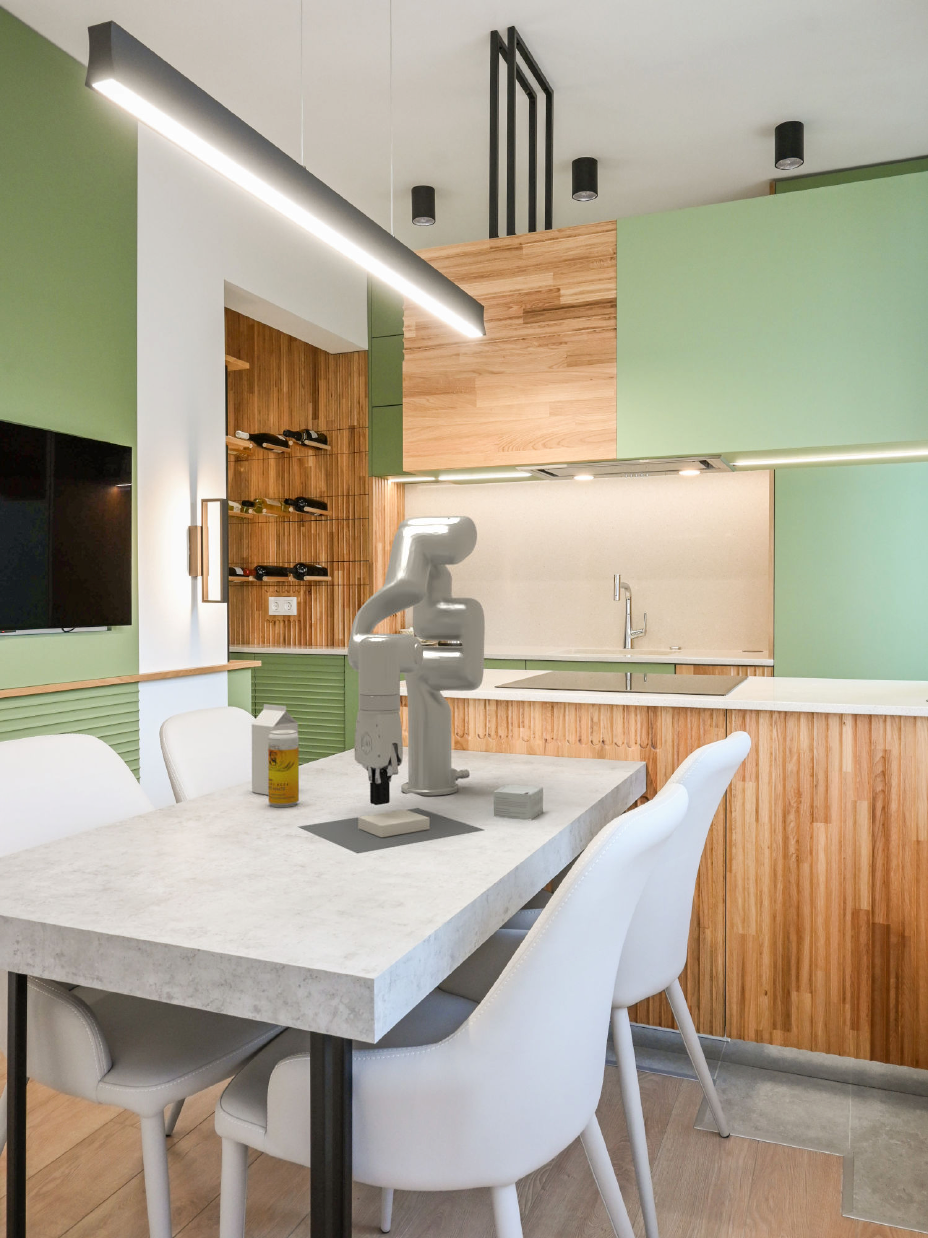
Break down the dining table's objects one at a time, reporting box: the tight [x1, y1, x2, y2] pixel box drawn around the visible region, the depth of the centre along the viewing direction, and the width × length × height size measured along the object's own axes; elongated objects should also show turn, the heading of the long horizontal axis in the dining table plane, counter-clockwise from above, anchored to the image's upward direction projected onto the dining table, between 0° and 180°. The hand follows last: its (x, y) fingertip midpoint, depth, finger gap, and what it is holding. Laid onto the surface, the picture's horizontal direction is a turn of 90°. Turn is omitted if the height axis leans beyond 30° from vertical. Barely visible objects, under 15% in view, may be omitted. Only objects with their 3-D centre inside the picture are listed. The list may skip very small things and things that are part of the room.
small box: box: [493, 784, 544, 820], centre depth 178 cm, size 8×8×5 cm
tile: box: [358, 809, 429, 837], centre depth 163 cm, size 10×2×8 cm
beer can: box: [267, 730, 300, 808], centre depth 186 cm, size 6×6×15 cm
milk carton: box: [251, 703, 299, 795], centre depth 199 cm, size 7×7×19 cm
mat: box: [298, 807, 485, 854], centre depth 164 cm, size 26×22×1 cm
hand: (379, 803), depth 167 cm, fingers closed
